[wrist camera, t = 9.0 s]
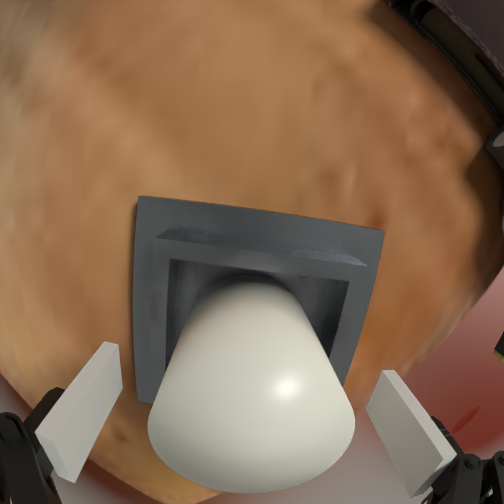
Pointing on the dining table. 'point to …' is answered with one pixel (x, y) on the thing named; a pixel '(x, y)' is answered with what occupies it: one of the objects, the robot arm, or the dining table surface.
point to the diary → (464, 41)
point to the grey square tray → (245, 273)
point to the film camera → (500, 147)
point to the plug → (249, 393)
